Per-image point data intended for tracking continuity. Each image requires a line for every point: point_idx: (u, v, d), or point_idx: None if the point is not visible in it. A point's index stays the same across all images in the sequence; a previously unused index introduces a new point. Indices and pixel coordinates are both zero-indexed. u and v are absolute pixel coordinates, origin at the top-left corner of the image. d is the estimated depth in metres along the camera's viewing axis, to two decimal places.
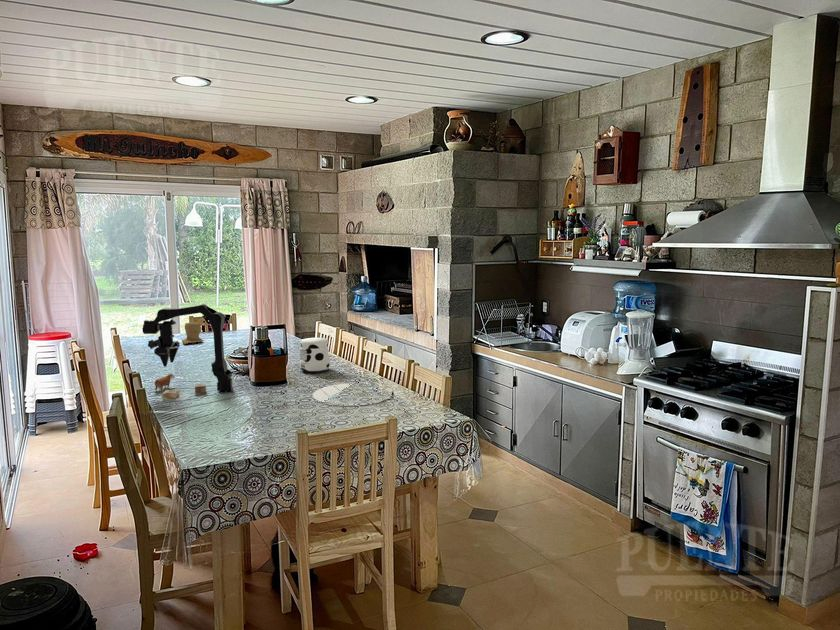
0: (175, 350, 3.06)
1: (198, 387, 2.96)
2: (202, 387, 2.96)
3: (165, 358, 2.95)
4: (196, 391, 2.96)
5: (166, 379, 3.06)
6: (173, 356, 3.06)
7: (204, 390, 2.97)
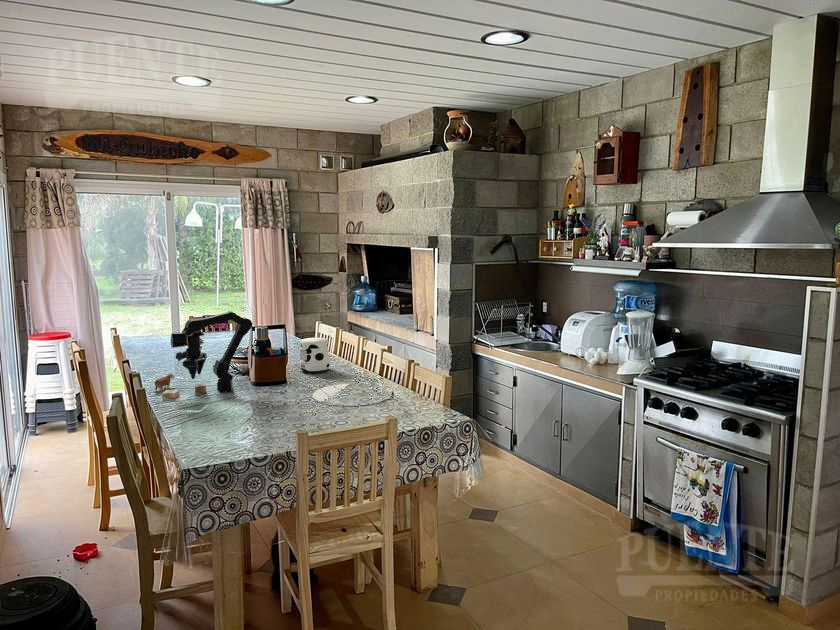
0: (202, 362, 3.01)
1: (198, 387, 2.96)
2: (202, 387, 2.96)
3: (193, 370, 2.90)
4: (196, 391, 2.96)
5: (166, 379, 3.06)
6: (200, 368, 3.01)
7: (204, 390, 2.97)
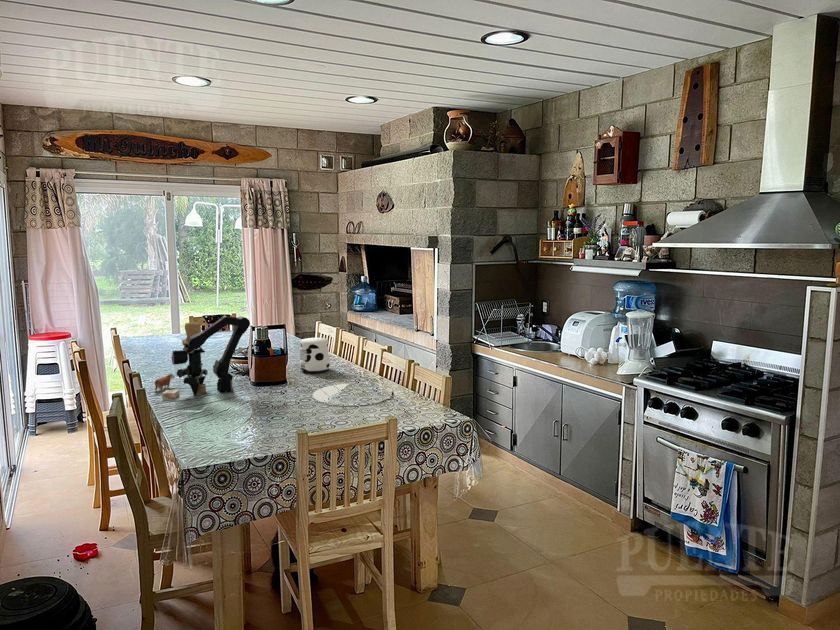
0: (202, 379, 3.01)
1: (198, 387, 2.95)
2: (202, 387, 2.96)
3: (195, 386, 2.93)
4: None
5: (166, 379, 3.06)
6: None
7: (204, 390, 2.96)
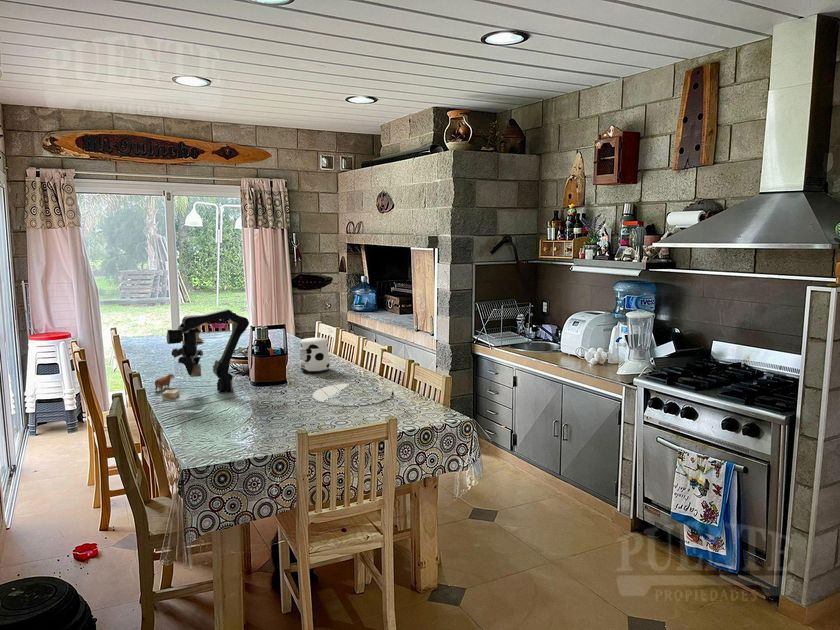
0: (197, 360, 2.98)
1: (193, 367, 2.93)
2: (197, 367, 2.93)
3: (190, 366, 2.91)
4: None
5: (166, 379, 3.06)
6: None
7: (199, 370, 2.94)
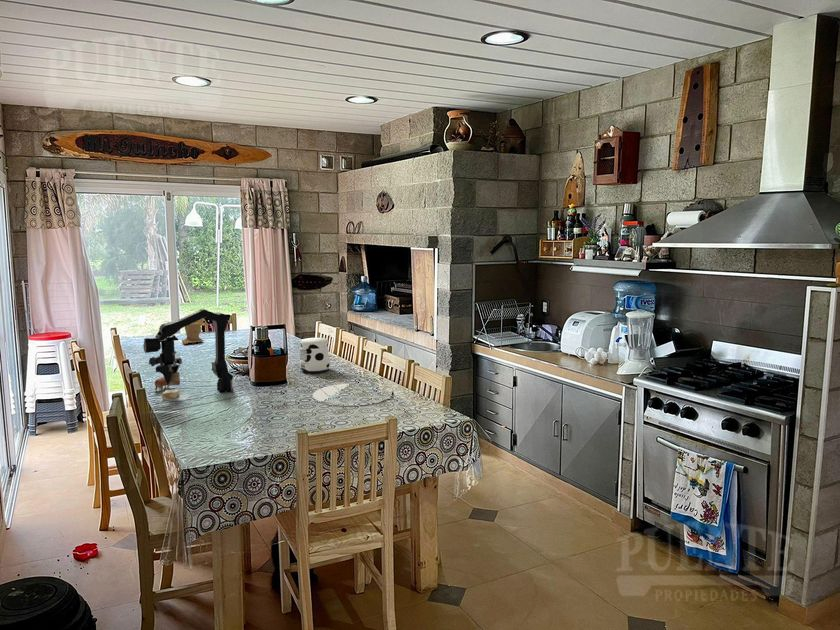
0: (176, 368, 2.92)
1: (171, 376, 2.87)
2: (175, 376, 2.88)
3: (168, 375, 2.85)
4: None
5: None
6: None
7: (177, 379, 2.88)
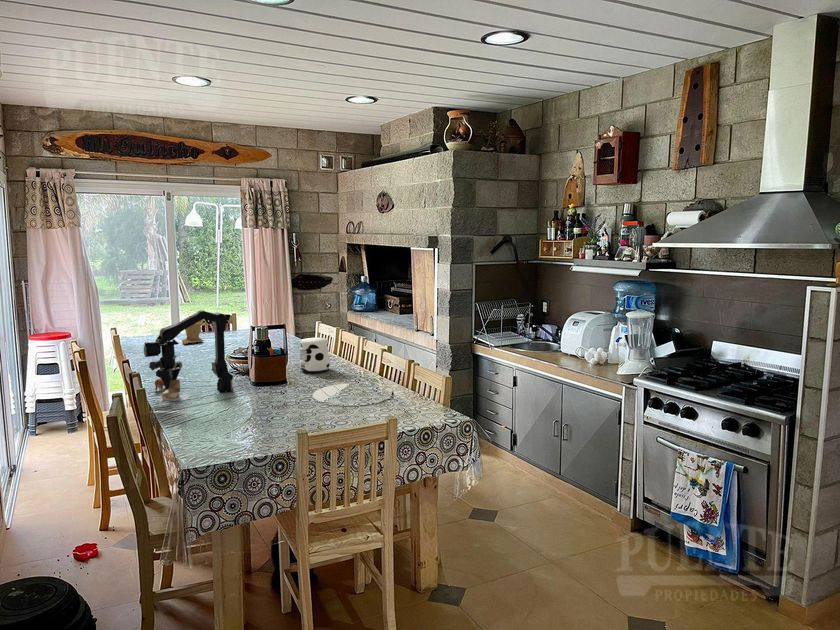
0: (177, 371, 2.94)
1: (171, 383, 2.87)
2: (175, 383, 2.88)
3: (167, 380, 2.84)
4: (169, 387, 2.87)
5: None
6: (175, 378, 2.94)
7: (178, 386, 2.89)
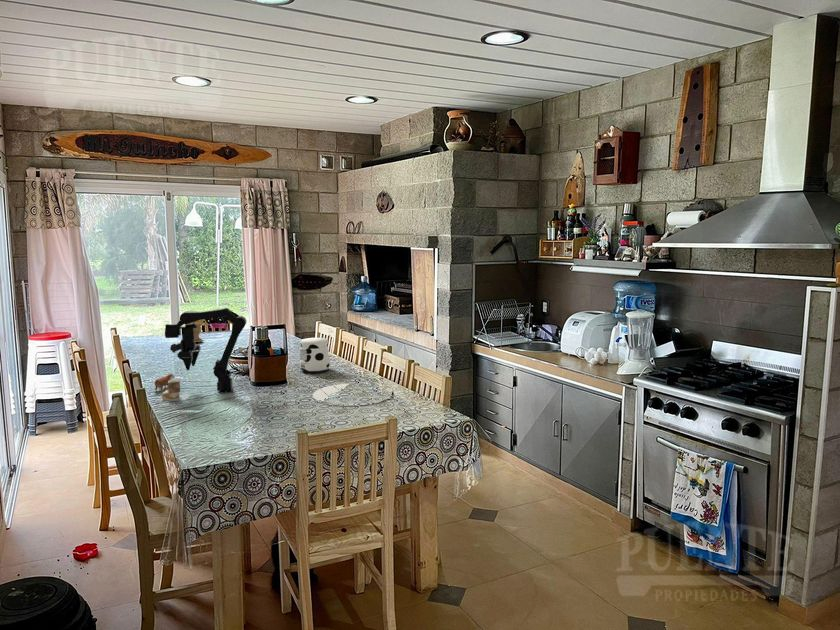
0: (196, 353, 3.05)
1: (171, 383, 2.87)
2: (175, 383, 2.88)
3: (188, 362, 2.95)
4: (169, 387, 2.87)
5: (166, 379, 3.06)
6: (194, 359, 3.05)
7: (178, 386, 2.89)
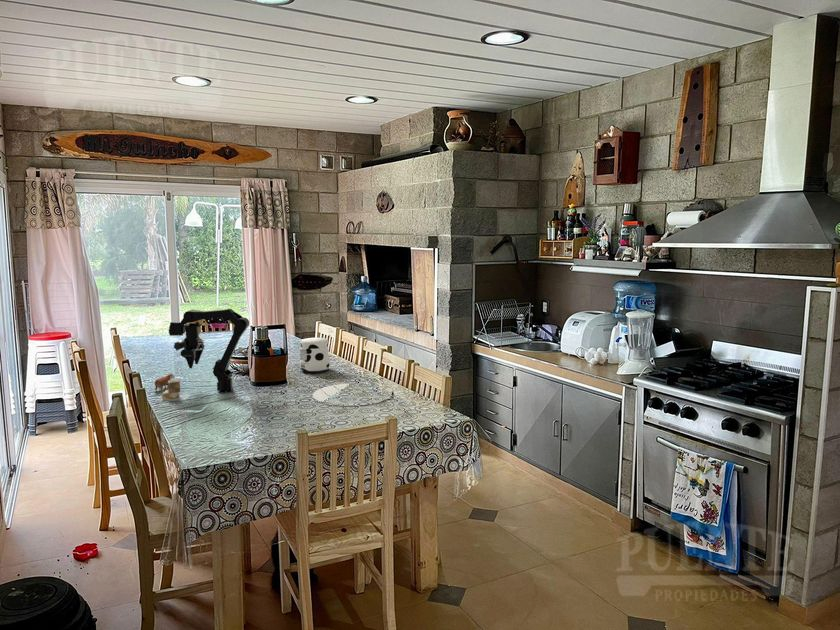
0: (200, 352, 3.07)
1: (171, 383, 2.87)
2: (175, 383, 2.88)
3: (191, 360, 2.97)
4: (169, 387, 2.87)
5: (166, 379, 3.06)
6: (198, 358, 3.07)
7: (178, 386, 2.89)
